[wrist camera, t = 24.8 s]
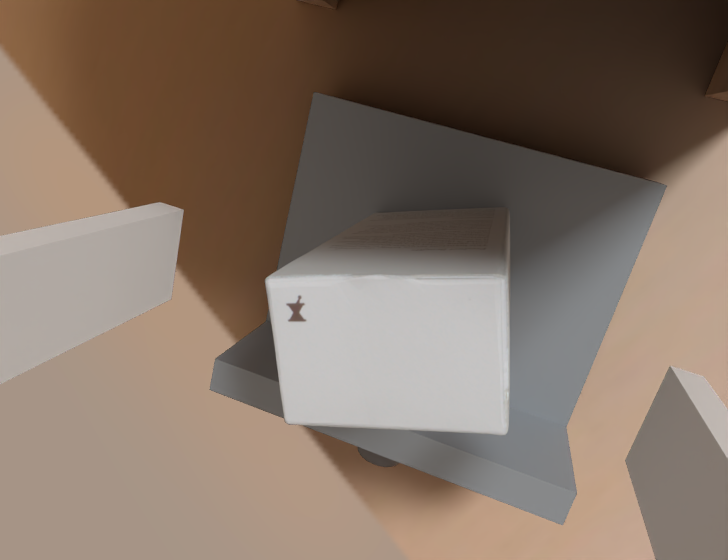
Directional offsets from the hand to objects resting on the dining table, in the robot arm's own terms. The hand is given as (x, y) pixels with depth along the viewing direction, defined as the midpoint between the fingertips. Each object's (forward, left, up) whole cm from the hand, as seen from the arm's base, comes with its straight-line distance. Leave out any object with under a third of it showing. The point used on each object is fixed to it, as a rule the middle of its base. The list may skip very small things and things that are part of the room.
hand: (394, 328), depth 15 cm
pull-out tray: (+2, 0, -12) cm, 12 cm away
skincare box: (0, 0, -11) cm, 11 cm away
